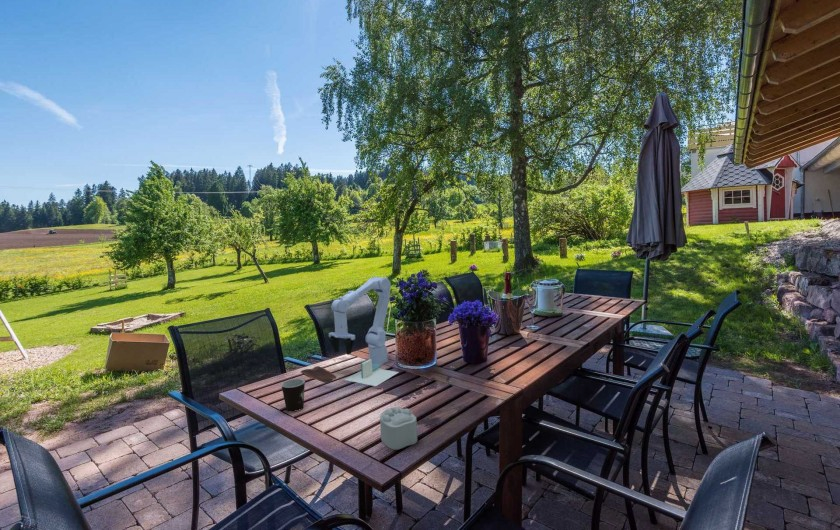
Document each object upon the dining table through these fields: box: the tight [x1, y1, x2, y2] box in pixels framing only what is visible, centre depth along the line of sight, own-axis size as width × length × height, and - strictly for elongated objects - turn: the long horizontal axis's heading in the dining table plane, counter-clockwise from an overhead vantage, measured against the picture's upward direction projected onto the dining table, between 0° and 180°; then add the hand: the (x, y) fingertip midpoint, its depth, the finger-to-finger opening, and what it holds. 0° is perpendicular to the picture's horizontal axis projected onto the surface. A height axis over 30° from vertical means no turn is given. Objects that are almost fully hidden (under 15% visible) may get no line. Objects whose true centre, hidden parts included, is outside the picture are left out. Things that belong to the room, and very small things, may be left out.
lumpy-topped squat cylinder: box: [379, 406, 418, 451], centre depth 125 cm, size 10×13×9 cm
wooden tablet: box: [300, 365, 337, 384], centre depth 183 cm, size 26×2×10 cm
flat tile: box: [372, 364, 382, 373], centre depth 187 cm, size 6×7×2 cm
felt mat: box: [343, 368, 399, 387], centre depth 179 cm, size 18×18×1 cm
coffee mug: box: [281, 378, 306, 412], centre depth 151 cm, size 12×9×10 cm
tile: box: [360, 358, 372, 379], centre depth 179 cm, size 6×2×7 cm, turn 150°
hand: (342, 353), depth 183 cm, fingers open, 7 cm apart
